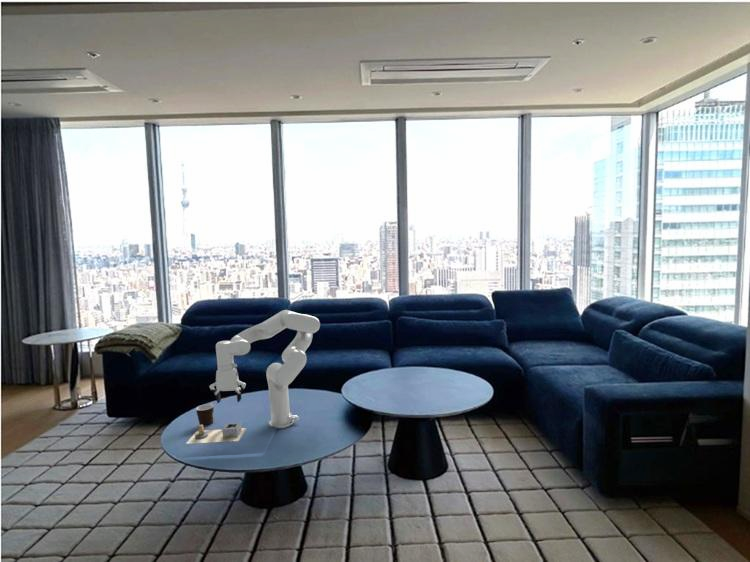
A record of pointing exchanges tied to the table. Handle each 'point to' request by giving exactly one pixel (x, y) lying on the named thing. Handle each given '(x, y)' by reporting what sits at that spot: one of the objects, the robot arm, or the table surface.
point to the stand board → (211, 436)
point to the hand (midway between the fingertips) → (229, 401)
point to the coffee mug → (205, 414)
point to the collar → (232, 430)
